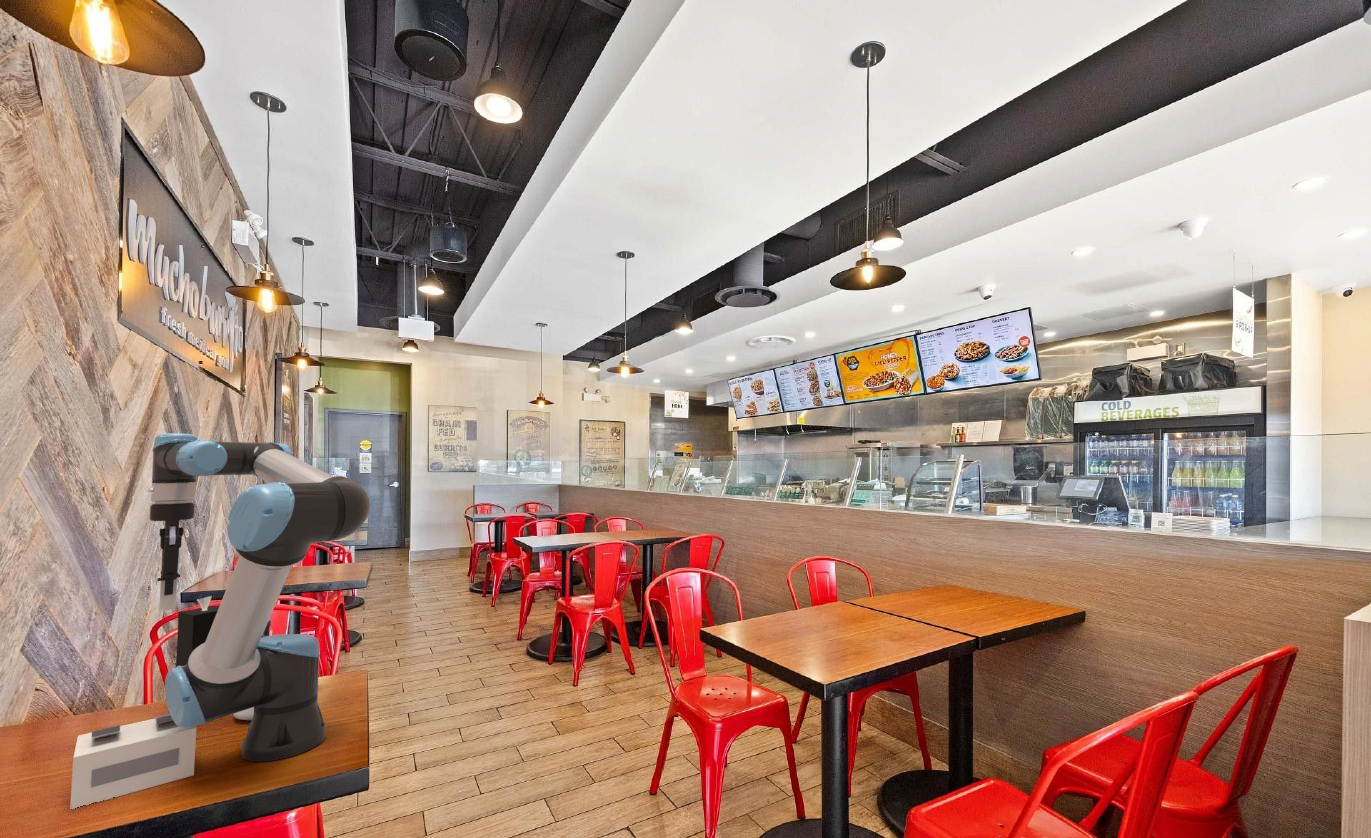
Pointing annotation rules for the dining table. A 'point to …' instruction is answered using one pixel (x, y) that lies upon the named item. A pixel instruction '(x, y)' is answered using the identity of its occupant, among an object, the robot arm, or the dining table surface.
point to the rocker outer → (106, 731)
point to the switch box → (130, 760)
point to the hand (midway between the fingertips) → (167, 609)
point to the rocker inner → (163, 718)
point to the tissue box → (194, 629)
